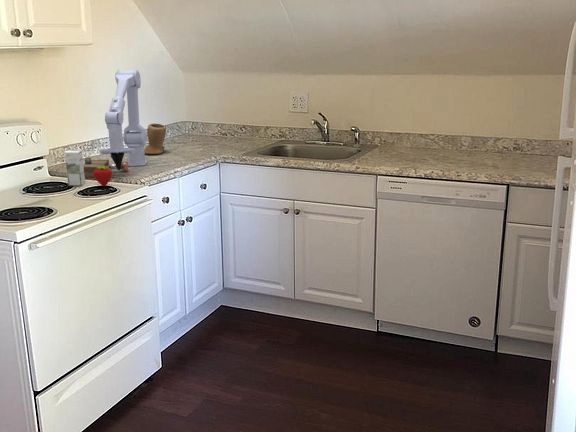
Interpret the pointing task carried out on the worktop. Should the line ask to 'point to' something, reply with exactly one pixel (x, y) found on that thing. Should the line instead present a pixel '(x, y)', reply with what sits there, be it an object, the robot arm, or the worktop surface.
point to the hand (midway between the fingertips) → (119, 169)
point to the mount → (93, 167)
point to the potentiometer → (88, 159)
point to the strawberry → (102, 175)
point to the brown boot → (155, 138)
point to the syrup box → (74, 167)
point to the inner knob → (123, 166)
